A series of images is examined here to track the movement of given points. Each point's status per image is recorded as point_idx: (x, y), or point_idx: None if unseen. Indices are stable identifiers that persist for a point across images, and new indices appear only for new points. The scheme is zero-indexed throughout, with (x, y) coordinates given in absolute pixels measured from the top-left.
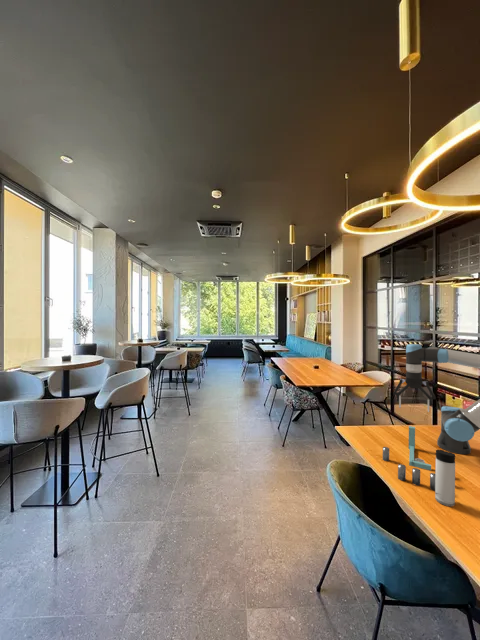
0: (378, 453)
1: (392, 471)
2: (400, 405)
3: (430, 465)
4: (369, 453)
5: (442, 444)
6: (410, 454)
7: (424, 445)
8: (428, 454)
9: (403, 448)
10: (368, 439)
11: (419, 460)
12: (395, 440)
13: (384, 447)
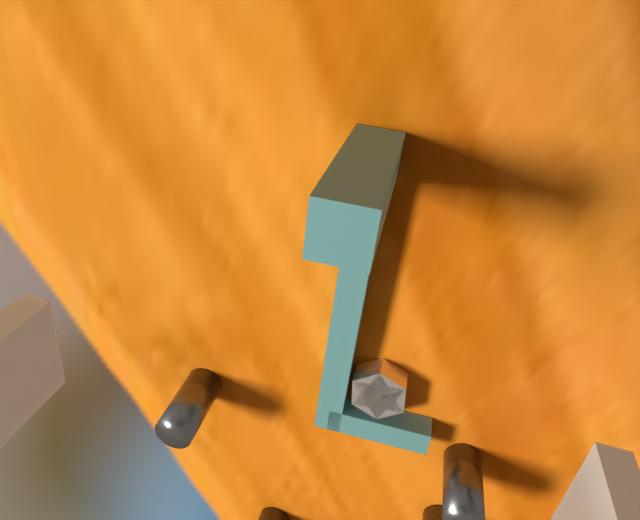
0: (160, 319)
1: (239, 473)
2: (27, 417)
3: (425, 445)
4: (117, 334)
5: None
6: (333, 344)
7: (526, 6)
8: (489, 222)
9: (311, 177)
10: (54, 100)
11: (376, 399)
12: (254, 3)
13: (163, 428)
